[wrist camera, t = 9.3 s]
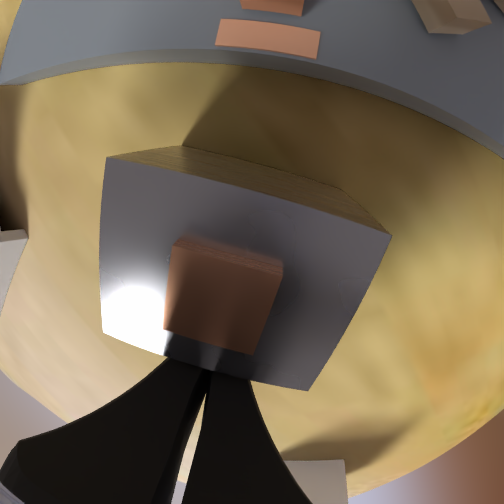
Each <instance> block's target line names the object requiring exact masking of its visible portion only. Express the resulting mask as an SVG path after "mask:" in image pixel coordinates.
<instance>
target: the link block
mask: <svg viewBox="0 0 504 504" xmlns="http://www.w3.org/2000/svg"><path fill="white" fill-rule="evenodd" d="M391 237H392V235H391V234H390V233H389V232H388V231H387V230H386V229H385V228H384V227H383V226H382V225H381V224H380V223H378V222H377V221H376V220H375V219H374V218H373V217H372V216H371V215H370V214H369V213H368V212H366V211H365V210H364V209H363V208H362V207H361V206H360V205H359V204H357V203H356V202H355V201H354V200H353V199H352V198H351V197H349V196H348V195H347V194H346V193H345V192H344V191H342V190H341V189H338V188H335V187H332V186H329V185H326V184H323V183H320V182H317V181H314V180H311V179H308V178H304V177H301V176H298V175H295V174H291V173H288V172H285V171H281V170H278V169H275V168H271V167H267V166H264V165H260V164H257V163H253V162H249V161H245V160H241V159H238V158H234V157H230V156H225V155H221V154H217V153H213V152H208V151H204V150H199V149H195V148H190V147H185V146H172V147H165V148H157V149H150V150H144V151H138V152H132V153H126V154H120V155H115V156H110V157H106V164H105V172H104V180H103V190H102V202H101V217H100V242H99V273H100V299H101V313H102V325H103V332H104V333H106V334H108V335H111V336H113V337H116V338H118V339H120V340H123V341H125V342H128V343H131V344H133V345H136V346H138V347H141V348H144V349H146V350H149V351H152V352H155V353H158V354H161V355H163V356H166V357H169V358H172V359H175V360H179V361H182V362H185V363H188V364H191V365H195V366H198V367H201V368H205V369H208V370H212V371H216V372H219V373H223V374H227V375H231V376H235V377H239V378H243V379H247V380H252V381H256V382H261V383H266V384H270V385H275V386H281V387H286V388H292V389H297V390H303V391H308V390H309V389H310V387H311V386H312V384H313V383H314V381H315V380H316V378H317V377H318V375H319V374H320V372H321V370H322V369H323V367H324V366H325V364H326V363H327V361H328V359H329V358H330V356H331V354H332V353H333V351H334V349H335V348H336V346H337V344H338V343H339V341H340V339H341V338H342V336H343V334H344V332H345V331H346V329H347V327H348V325H349V323H350V322H351V320H352V318H353V316H354V314H355V312H356V311H357V309H358V307H359V305H360V303H361V301H362V299H363V297H364V295H365V293H366V291H367V289H368V287H369V285H370V283H371V281H372V279H373V277H374V275H375V273H376V271H377V269H378V267H379V264H380V262H381V260H382V258H383V256H384V253H385V251H386V249H387V247H388V244H389V242H390V240H391Z"/></svg>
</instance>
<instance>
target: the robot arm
mask: <svg viewBox="0 0 504 504" xmlns="http://www.w3.org/2000/svg"><path fill="white" fill-rule="evenodd" d="M205 394H206V397H205ZM204 397H205V404H204V411H203V418H202V425H201V431H200V435H199V438H198V442H197V446H196V450H195V454H194V458H193V461H192V465H191V469H190V473H189V477H188V481H187V484H186V488H185V492H184V496H183V500H182V503H181V504H313V503H312V502H311V501H310V500H309V498H308V497H307V496H306V494H305V493H304V492H303V490H302V489H301V487H300V486H299V485H298V483H297V482H296V480H295V479H294V477H293V475H292V474H291V472H290V471H289V469H288V467H287V466H286V464H285V462H284V461H283V459H282V457H281V456H280V454H279V452H278V450H277V448H276V446H275V444H274V442H273V440H272V438H271V436H270V434H269V432H268V429H267V427H266V425H265V423H264V420H263V418H262V415H261V412H260V410H259V407H258V404H257V401H256V398H255V395H254V392H253V389H252V385H251V381H250V380H247V379H243V378H239V377H235V376H231V375H227V374H223V373H219V372H216V371H212V370H208V369H205V368H201V367H198V366H195V365H191V364H188V363H185V362H182V361H179V360H175V359H172V358H169V357H168V358H167V359H165V360H164V361H163V362H162V363H161V364H160V365H159V366H158V367H156V368H155V369H154V370H153V371H152V372H151V373H150V374H148V375H147V376H146V377H145V378H144V379H142V380H141V381H140V382H138V383H137V384H136V385H134V386H133V387H132V388H130V389H129V390H127V391H126V392H125V393H123V394H122V395H120V396H119V397H117V398H116V399H114V400H112V401H111V402H109V403H107V404H106V405H104V406H103V407H101V408H99V409H97V410H95V411H94V412H92V413H90V414H88V415H86V416H84V417H82V418H79V419H77V420H75V421H73V422H71V423H69V424H66V425H64V426H62V427H59V428H57V429H54V430H51V431H49V432H45V433H42V434H39V435H36V436H33V437H30V438H26V439H22V440H20V441H18V443H17V444H16V446H15V447H14V448H13V449H12V450H11V452H10V453H9V455H8V457H7V458H6V460H5V462H4V464H3V466H2V468H1V469H0V504H171V500H172V497H173V493H174V489H175V485H176V481H177V477H178V473H179V469H180V466H181V462H182V458H183V454H184V451H185V448H186V445H187V442H188V439H189V436H190V434H191V431H192V429H193V426H194V423H195V421H196V418H197V415H198V413H199V410H200V408H201V405H202V402H203V400H204Z"/></svg>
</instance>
